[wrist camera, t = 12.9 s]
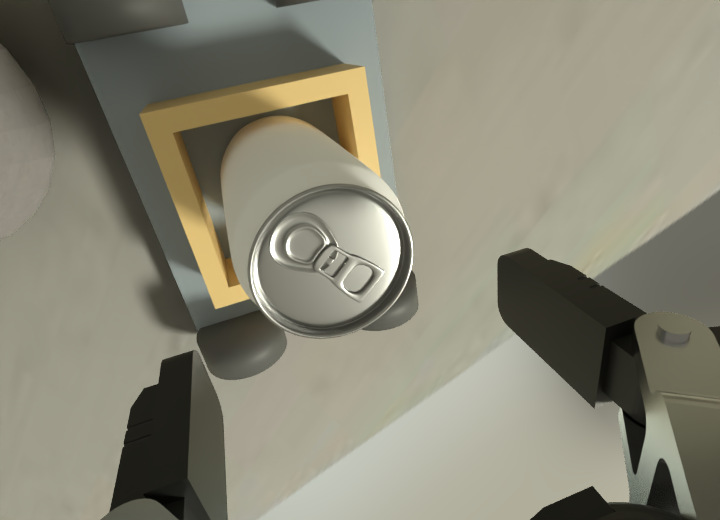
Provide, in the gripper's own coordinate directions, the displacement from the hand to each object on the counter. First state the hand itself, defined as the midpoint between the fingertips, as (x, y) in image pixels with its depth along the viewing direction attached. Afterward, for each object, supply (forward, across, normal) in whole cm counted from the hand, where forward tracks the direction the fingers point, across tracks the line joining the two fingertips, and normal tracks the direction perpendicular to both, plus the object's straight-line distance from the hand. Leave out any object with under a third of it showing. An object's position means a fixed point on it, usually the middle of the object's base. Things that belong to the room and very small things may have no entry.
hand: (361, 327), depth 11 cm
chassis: (+17, 0, 0) cm, 17 cm away
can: (+16, 0, 0) cm, 16 cm away
